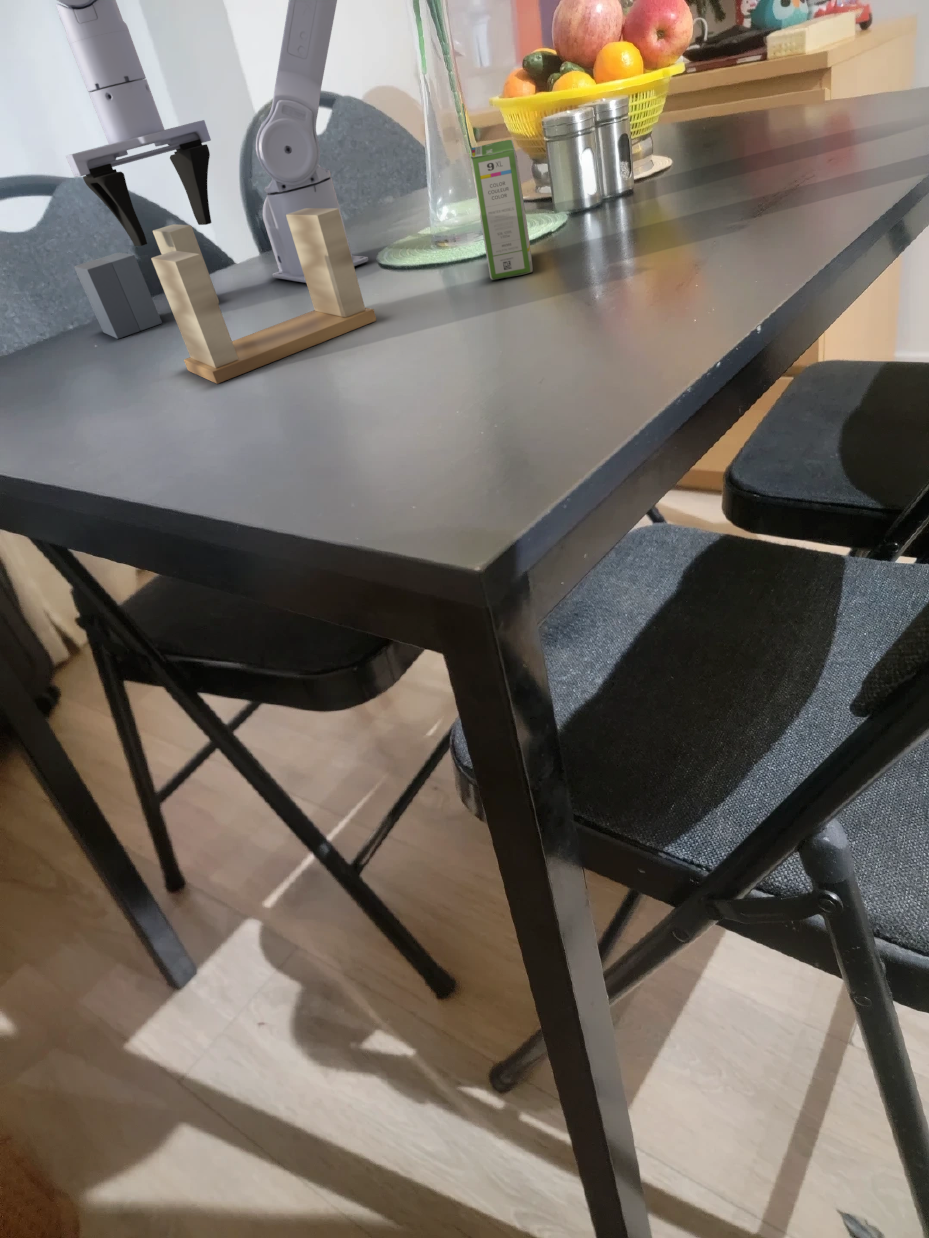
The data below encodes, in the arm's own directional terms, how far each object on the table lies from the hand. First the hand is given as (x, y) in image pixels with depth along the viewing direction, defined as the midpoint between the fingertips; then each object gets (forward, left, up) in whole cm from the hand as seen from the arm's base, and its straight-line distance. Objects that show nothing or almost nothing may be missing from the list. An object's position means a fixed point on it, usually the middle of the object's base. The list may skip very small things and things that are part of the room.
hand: (173, 234), depth 88 cm
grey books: (0, -8, -7) cm, 11 cm away
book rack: (+29, -3, -7) cm, 30 cm away
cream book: (0, 0, -7) cm, 7 cm away
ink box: (+33, +19, -8) cm, 39 cm away
